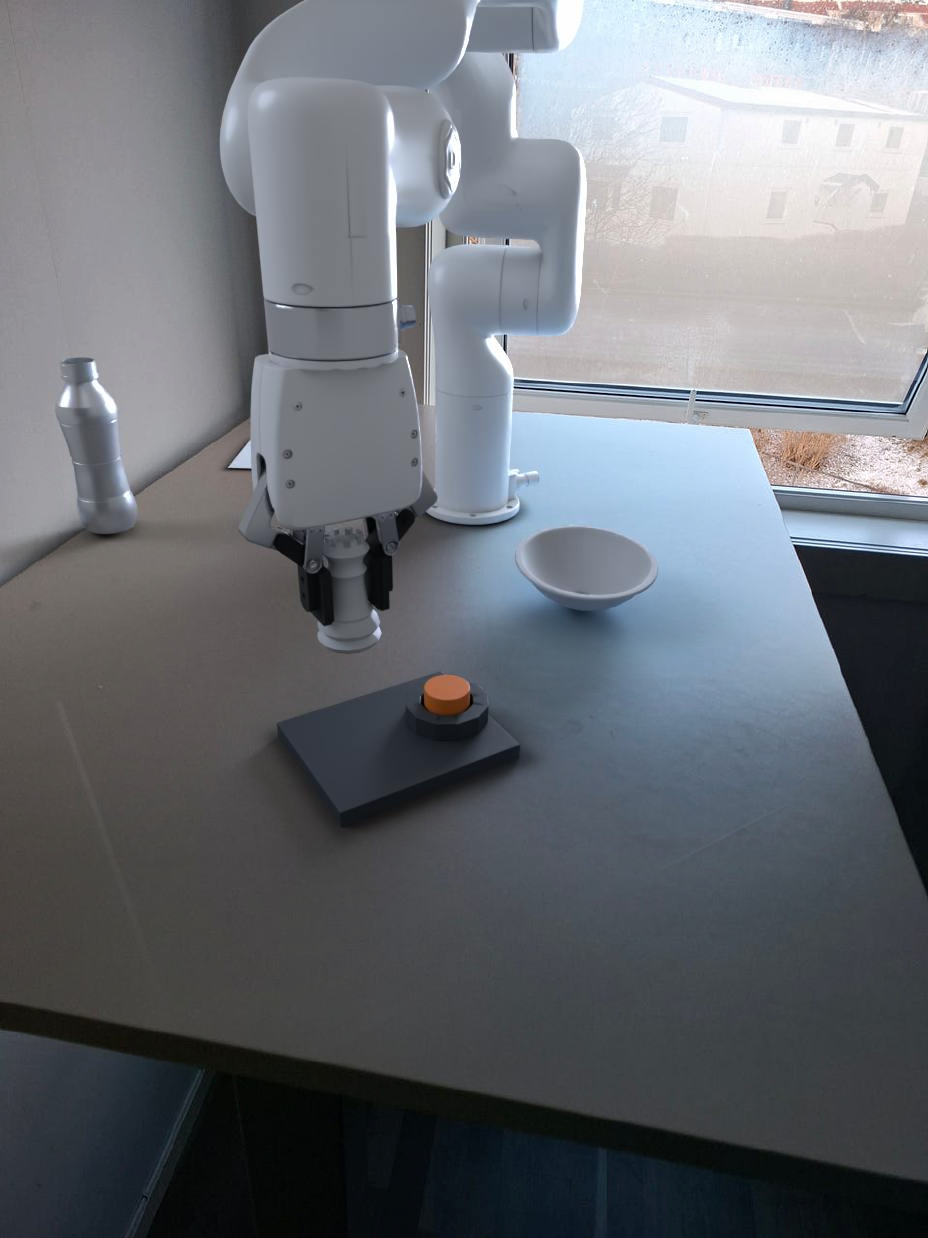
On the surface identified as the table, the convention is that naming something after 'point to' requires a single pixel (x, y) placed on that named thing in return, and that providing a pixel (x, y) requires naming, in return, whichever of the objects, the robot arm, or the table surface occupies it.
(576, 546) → the dish
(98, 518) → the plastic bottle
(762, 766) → the table surface
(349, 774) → the scale
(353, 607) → the rook chess piece
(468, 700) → the button
